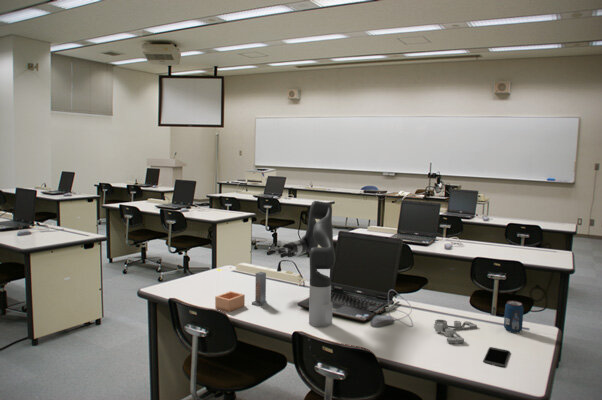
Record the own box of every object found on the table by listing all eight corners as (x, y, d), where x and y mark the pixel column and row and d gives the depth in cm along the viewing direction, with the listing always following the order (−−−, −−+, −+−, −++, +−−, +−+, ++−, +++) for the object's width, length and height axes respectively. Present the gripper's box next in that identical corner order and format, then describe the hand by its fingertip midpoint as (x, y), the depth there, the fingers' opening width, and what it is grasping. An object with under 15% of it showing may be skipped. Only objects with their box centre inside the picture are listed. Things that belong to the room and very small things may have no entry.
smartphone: (482, 363, 153) (482, 361, 153) (489, 348, 165) (489, 345, 165) (505, 369, 149) (505, 367, 149) (510, 353, 161) (510, 350, 161)
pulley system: (422, 339, 174) (461, 347, 165) (422, 328, 173) (461, 335, 165) (444, 321, 196) (479, 328, 187) (444, 311, 196) (479, 317, 187)
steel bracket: (266, 302, 211) (266, 272, 210) (258, 306, 206) (259, 275, 205) (259, 300, 214) (259, 271, 212) (251, 304, 209) (251, 274, 207)
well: (244, 305, 207) (244, 294, 206) (229, 312, 198) (229, 300, 197) (230, 302, 212) (230, 291, 211) (215, 307, 203) (215, 296, 202)
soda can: (512, 326, 186) (514, 299, 185) (525, 332, 180) (527, 304, 179) (499, 328, 184) (501, 301, 183) (513, 334, 178) (515, 306, 176)
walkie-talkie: (382, 316, 196) (400, 305, 212) (383, 307, 196) (401, 296, 212) (365, 312, 201) (384, 301, 217) (366, 303, 201) (384, 292, 217)
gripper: (281, 240, 235) (263, 245, 221) (303, 243, 227) (285, 249, 214) (281, 253, 236) (263, 259, 222) (303, 257, 228) (285, 263, 214)
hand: (274, 254), depth 218 cm, fingers open, 8 cm apart
